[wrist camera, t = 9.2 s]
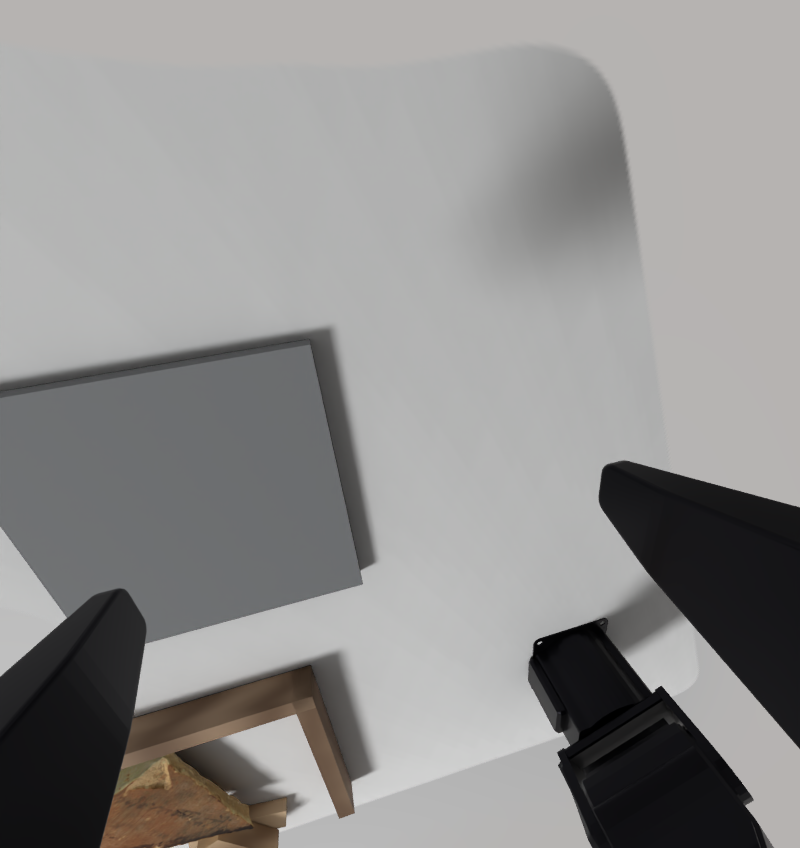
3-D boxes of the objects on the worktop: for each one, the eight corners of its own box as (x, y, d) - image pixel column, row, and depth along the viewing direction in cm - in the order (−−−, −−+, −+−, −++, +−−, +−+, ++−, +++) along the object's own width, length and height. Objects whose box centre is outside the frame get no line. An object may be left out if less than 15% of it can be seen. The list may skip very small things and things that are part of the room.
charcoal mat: (309, 338, 17) (310, 344, 17) (360, 571, 24) (362, 584, 23) (-61, 402, 15) (-83, 412, 14) (103, 639, 21) (95, 657, 21)
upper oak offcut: (278, 829, 32) (277, 855, 31) (259, 842, 32) (257, 868, 31) (221, 812, 29) (217, 839, 28) (200, 826, 29) (195, 854, 28)
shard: (253, 804, 30) (254, 833, 29) (153, 871, 29) (148, 906, 27) (170, 732, 26) (166, 761, 24) (45, 807, 24) (31, 844, 22)
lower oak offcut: (286, 787, 33) (286, 810, 31) (285, 803, 33) (285, 826, 32) (191, 807, 31) (187, 833, 29) (193, 824, 32) (189, 849, 30)
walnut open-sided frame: (310, 665, 26) (311, 696, 24) (351, 782, 33) (354, 813, 31) (15, 753, 23) (-8, 796, 22) (128, 860, 30) (118, 899, 29)
